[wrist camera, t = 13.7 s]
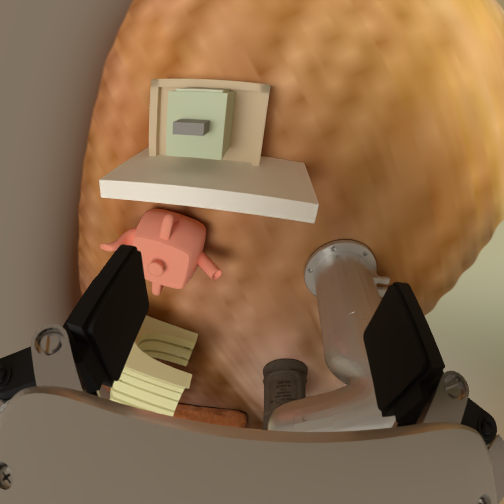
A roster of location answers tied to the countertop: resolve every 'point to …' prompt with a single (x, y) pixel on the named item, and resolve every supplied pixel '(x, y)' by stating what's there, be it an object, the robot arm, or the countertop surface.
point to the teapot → (168, 248)
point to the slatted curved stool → (155, 368)
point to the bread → (211, 415)
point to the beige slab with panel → (216, 163)
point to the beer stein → (282, 384)
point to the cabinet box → (199, 122)
